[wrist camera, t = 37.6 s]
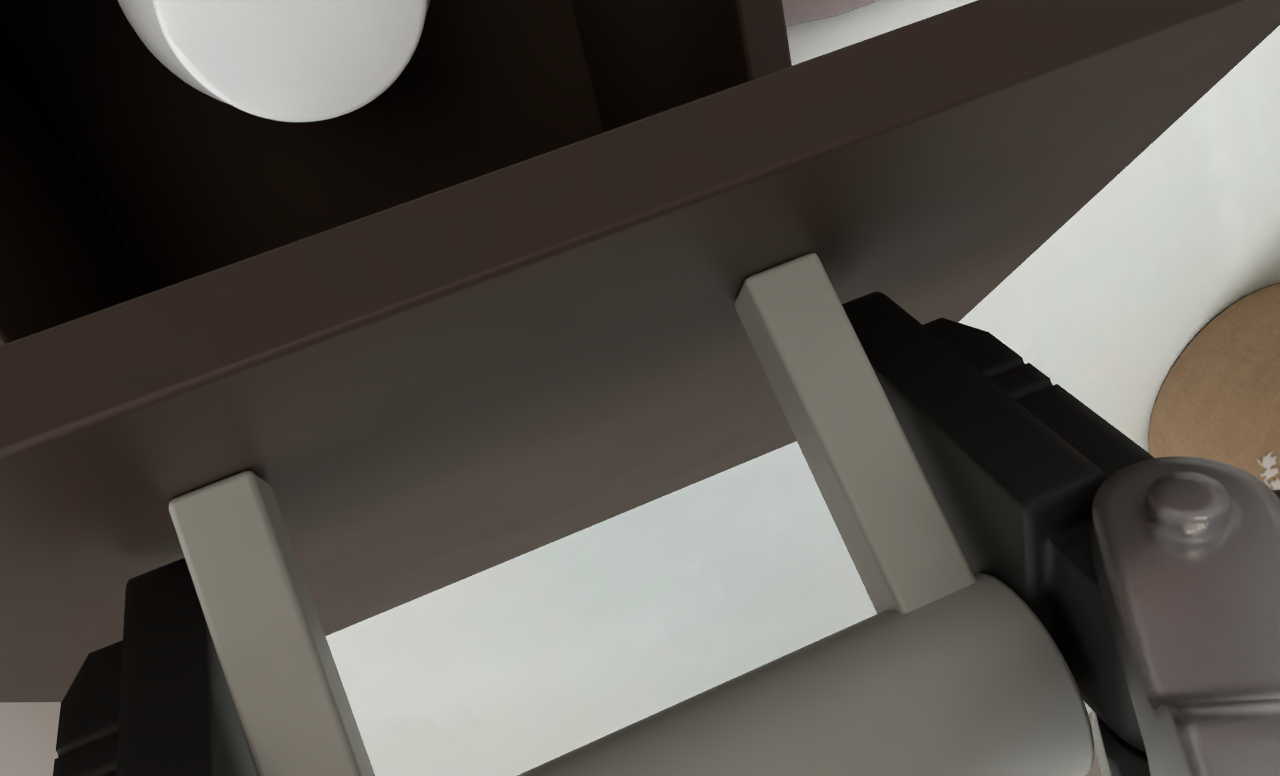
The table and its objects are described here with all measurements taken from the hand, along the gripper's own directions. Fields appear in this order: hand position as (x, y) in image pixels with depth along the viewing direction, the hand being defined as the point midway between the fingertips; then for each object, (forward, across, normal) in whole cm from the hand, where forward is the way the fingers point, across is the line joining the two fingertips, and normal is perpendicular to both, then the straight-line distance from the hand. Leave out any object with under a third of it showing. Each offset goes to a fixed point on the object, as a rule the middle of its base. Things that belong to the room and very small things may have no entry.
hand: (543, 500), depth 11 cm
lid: (+3, 0, +1) cm, 3 cm away
